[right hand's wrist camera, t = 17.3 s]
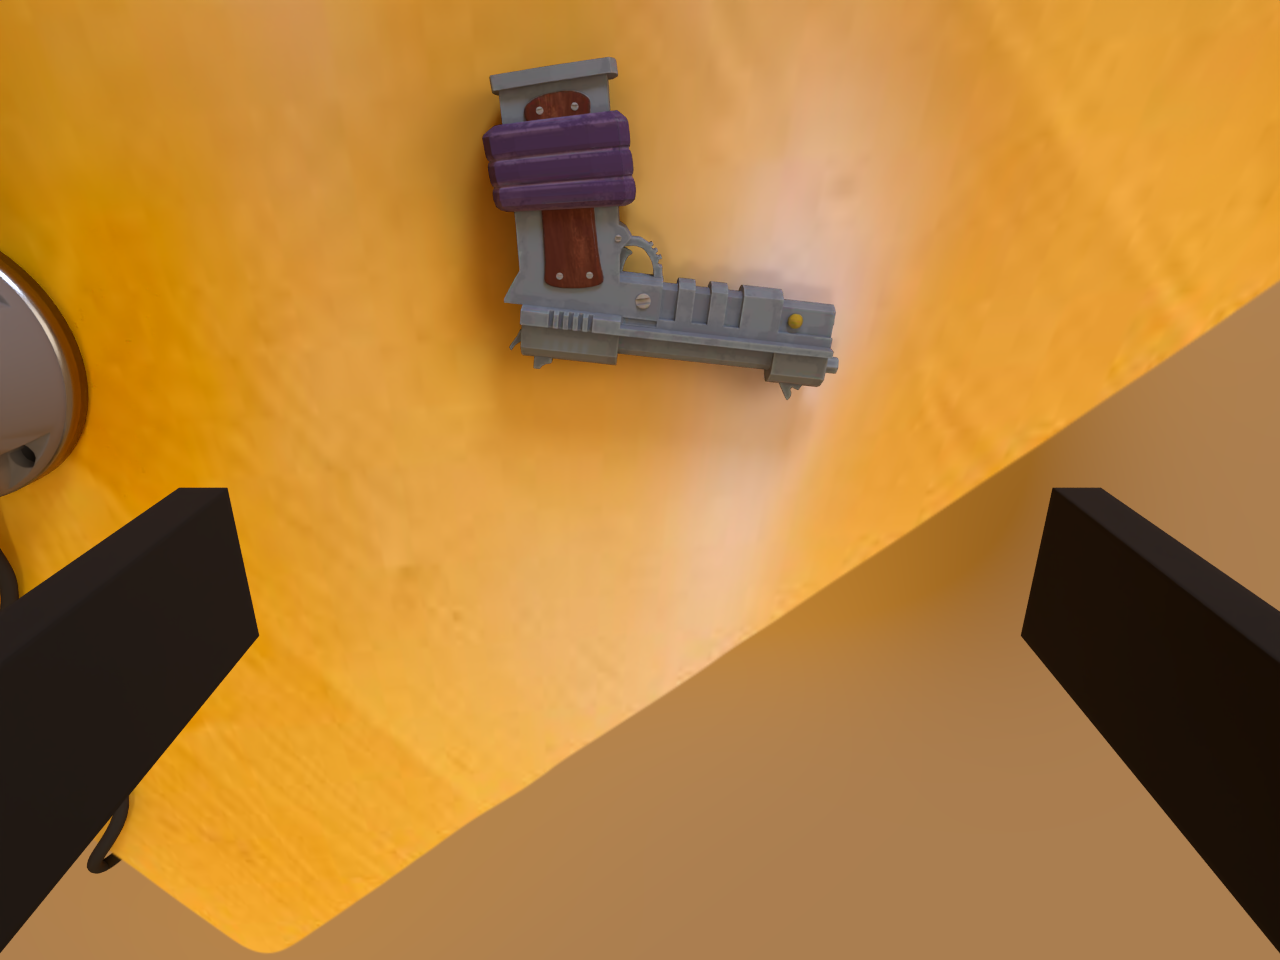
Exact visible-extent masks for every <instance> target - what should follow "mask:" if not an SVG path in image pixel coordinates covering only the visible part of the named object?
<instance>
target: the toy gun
mask: <svg viewBox="0 0 1280 960" xmlns="http://www.w3.org/2000/svg"><path fill="white" fill-rule="evenodd" d="M617 76H618V71H617V64H616V59H615V58H611V57H605V58H598V59H592V60H585V61H578V62H572V63H565V64H558V65H552V66H545V67H539V68H533V69H527V70H521V71H515V72H509V73H503V74H497V75H491V76H490V84H491V89H492V93H493V94H495V95H499V99H500V108H501V117H502V125H496V126H493V127H492V128H491V129H490V130H488V131H487V132H486V133H485V134H484V135H483V138H482V139H483V144H484V150H485V154H486V158H487V160H488V161H489V164H488V171H489V177H490V181H491V184H492V186H493V187H494V189H493V199H494V202H495V205H496V207H497V208H499V209H500V210H502V211H506V212H514V213H515V223H516V233H517V245H518V256H519V268H520V271H519V273H518V274H517V276H516V277H515V279H514V281H513V283H512V285H511V287H510V288H509V290H508V292H507V294H506V296H505V298H504V302H505V303H514V304H523V305H522V308H521V316H520V324H521V325H522V329H520V331H519V333H518V335H517V337H516V338H515V339H514V341H513V342H512V344H511V345H510V349H511V350H512V349H513V347H514V346H515V345H516V344H517V343H519V342H520V341H521V352H522V355H527V356H534V368H536V369H540V368H541V367H542V366H543V365H545V364H549V363H552V359H553V358H555V359H564V360H573V361H583V362H592V363H601V364H610V365H616V362H617V353H619V354H628V355H637V356H646V357H656V358H665V359H674V360H683V361H693V362H702V363H711V364H720V365H729V366H739V367H748V368H757V369H764V378H765V381H767V382H776V383H779V384H780V387H781V389H782V391H783V394H784V396H785V398H786V400H788V399H789V398H790V396H791V391H790V389H791V388H792V387H793V388H795V389H797V390H799V388H800V387H801V386H802V385H804V386H813V387H818V386H820V385H821V383H822V382H823V380H824V377H825V373H833V374H835V373H836V372H837V369H838V362H839V360H838V358H837V357H833V351H832V349H831V343H832V338H831V334H832V329H833V325H834V319H835V314H836V311H835V307H834V305H831V304H822V303H814V302H805V301H796V300H787V299H784V298H783V292H782V290H781V289H774V288H765V287H756V286H747V285H741V286H740V288H739V291H734V290H728V285H727V283H721V282H712V281H710V282H709V285H708V287H699V286H696V282H695V279H686V278H678V281H677V284H673V283H664V282H663V276H662V265H660V264H659V263H658V261H659V259H662V257H661V254H660V255H657V254H656V252H658V250H657V248H654V249H653V248H652V247H651V246H653V243H652V241H651V242H648V241H646V240H645V239H643V238H642V237H639V236H631V233H630V231H629V229H628V228H627V226H626V225H625V224H623V223H622V222H620V221H619V206H626V205H628V204H630V203H632V202H633V201H634V199H635V195H636V187H635V181H634V179H633V178H632V174H633V160H632V154H631V152H630V150H629V146H630V133H629V124H628V120H627V118H626V117H625V116H624V115H622V114H621V113H620V112H619V111H617V110H616V111H610V99H609V84H608V80H610V79H614V78H616V77H617ZM624 246H638V247H641V248H643V249H644V250H645V251H646V252H647V254H648V255H649V257H650V259H651V261H652V264H653V275H651V274H642V273H633V272H624V271H623V266H624V263H625V260H626V259H627V257H628V256H629V255H630V254H632V251H631V250H629V249H627V248H625V247H624Z"/></svg>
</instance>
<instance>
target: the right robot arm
mask: <svg viewBox="0 0 1280 960" xmlns="http://www.w3.org/2000/svg"><path fill="white" fill-rule="evenodd" d="M87 408H88V385H87V377H86V371H85V367H84V363H83V359H82V356H81V353H80V350H79V347H78V345H77V343H76V340H75V338H74V336H73V333H72V332H71V330H70V328H69V326H68V324H67V322H66V320H65V319H64V317H63V316H62V314H61V313H60V311H59V310H58V308H57V306H56V305H55V304H54V303H53V301H52V300H51V299H50V297H49V296H48V295H47V293H46V292H45V291H44V290H43V289H42V288H41V287H40V286H39V284H38V283H37V282H36V281H35V280H34V279H33V278H32V277H31V276H30V275H29V274H28V273H27V272H26V271H25V270H23V269H22V268H21V267H20V266H19V265H17V264H16V263H15V262H14V261H13V260H11V259H10V258H9V257H7V256H6V255H5V254H3V253H2V252H0V496H4V495H7V494H9V493H12V492H14V491H17V490H19V489H21V488H22V487H24V486H26V485H28V484H30V483H32V482H34V481H36V480H38V479H40V478H42V477H44V476H45V475H47V474H49V473H50V472H51V471H53V470H54V469H56V468H57V467H58V466H59V465H60V464H61V463H62V462H63V461H64V460H65V459H66V458H67V457H68V456H69V454H70V453H71V452H72V450H73V449H74V447H75V445H76V444H77V442H78V440H79V438H80V436H81V433H82V430H83V427H84V424H85V420H86V415H87ZM0 596H1V604H0V953H1V951H2V950H3V949H4V948H5V947H6V945H7V944H8V943H9V942H10V940H11V939H12V938H13V937H14V935H15V934H16V933H17V932H18V931H19V929H20V928H21V927H22V926H23V924H24V923H25V922H26V921H27V920H28V918H29V917H30V916H31V915H32V913H33V912H34V911H35V910H36V909H37V907H38V906H39V905H40V904H41V902H42V901H43V900H44V899H45V898H46V896H47V895H48V894H49V893H50V891H51V890H52V889H53V888H54V886H55V885H56V884H57V883H58V882H59V880H60V879H61V878H62V877H63V875H64V874H65V873H66V872H67V871H68V869H69V868H70V867H71V866H72V864H73V863H74V862H75V861H76V860H77V858H78V857H79V856H80V855H81V853H82V852H83V851H84V850H85V848H86V847H87V846H88V845H89V844H90V842H91V841H92V840H93V839H94V837H95V836H96V835H97V834H98V833H99V831H100V830H101V829H102V828H103V826H104V825H105V824H106V823H107V822H108V820H109V819H110V818H111V817H112V819H111V821H110V824H109V826H108V828H107V830H106V831H105V833H104V835H103V836H102V838H101V840H100V841H99V843H98V844H97V846H96V847H95V849H94V850H93V852H92V853H91V855H90V857H89V859H88V863H87V868H88V870H89V871H90V872H91V873H102V872H104V871H107V870H108V869H110V868H112V867H113V866H115V865H116V864H117V863H119V862H120V861H121V860H122V859H121V858H119V857H118V856H116V855H115V854H114V853H111V854H110V855H109V856H107V857H106V858H104V857H105V856H106V854H107V853H108V851H109V850H110V848H111V847H112V845H113V844H114V842H115V840H116V839H117V837H118V835H119V834H120V832H121V830H122V828H123V826H124V823H125V820H126V818H127V814H128V808H129V795H130V793H131V792H132V791H133V790H134V788H135V787H136V786H137V785H138V784H139V782H140V781H141V780H142V779H143V777H144V776H145V775H146V774H147V772H148V771H149V770H150V769H151V768H152V766H153V765H154V764H155V763H156V761H157V760H158V759H159V758H160V757H161V755H162V754H163V753H164V752H165V750H166V749H167V748H168V747H169V746H170V744H171V743H172V742H173V741H174V739H175V738H176V737H177V736H178V734H179V733H180V732H181V731H182V730H183V728H184V727H185V726H186V725H187V723H188V722H189V721H190V720H191V719H192V717H193V716H194V715H195V714H196V712H197V711H198V710H199V709H200V708H201V706H202V705H203V704H204V703H205V701H206V700H207V699H208V698H209V696H210V695H211V694H212V693H213V692H214V690H215V689H216V688H217V687H218V685H219V684H220V683H221V682H222V681H223V679H224V678H225V677H226V676H227V674H228V673H229V672H230V671H231V670H232V668H233V667H234V666H235V665H236V663H237V662H238V661H239V660H240V658H241V657H242V656H243V655H244V654H245V652H246V651H247V650H248V649H249V647H250V646H251V645H252V644H253V643H254V641H255V640H256V639H257V638H258V636H259V633H258V628H257V623H256V619H255V614H254V609H253V605H252V600H251V595H250V591H249V586H248V582H247V577H246V572H245V568H244V563H243V558H242V554H241V549H240V544H239V540H238V535H237V530H236V526H235V521H234V516H233V512H232V507H231V502H230V498H229V493H228V488H178V489H177V490H175V491H174V492H172V493H171V494H169V495H168V496H167V497H165V498H164V499H162V500H161V501H159V502H158V503H156V504H155V505H154V506H152V507H151V508H149V509H148V510H146V511H145V512H143V513H142V514H141V515H139V516H138V517H136V518H135V519H133V520H132V521H130V522H129V523H128V524H126V525H125V526H123V527H122V528H120V529H119V530H117V531H116V532H115V533H113V534H112V535H110V536H109V537H107V538H106V539H104V540H103V541H102V542H100V543H99V544H97V545H96V546H94V547H93V548H91V549H90V550H89V551H87V552H86V553H84V554H83V555H81V556H80V557H78V558H77V559H76V560H74V561H73V562H71V563H70V564H68V565H67V566H65V567H64V568H63V569H61V570H60V571H58V572H57V573H55V574H54V575H52V576H51V577H50V578H48V579H47V580H45V581H44V582H42V583H41V584H39V585H38V586H37V587H35V588H34V589H32V590H31V591H29V592H28V593H26V594H25V595H24V596H22V597H21V598H19V592H18V584H17V579H16V576H15V574H14V571H13V569H12V567H11V565H10V563H9V562H8V560H7V558H6V557H5V555H4V554H3V552H2V550H1V549H0ZM1021 636H1022V638H1023V639H1024V640H1025V641H1026V643H1027V644H1028V645H1029V646H1030V647H1031V649H1032V650H1033V651H1034V652H1035V654H1036V655H1037V656H1038V657H1039V658H1040V660H1041V661H1042V662H1043V663H1044V665H1045V666H1046V667H1047V668H1048V670H1049V671H1050V672H1051V673H1052V674H1053V676H1054V677H1055V678H1056V679H1057V681H1058V682H1059V683H1060V684H1061V685H1062V687H1063V688H1064V689H1065V690H1066V692H1067V693H1068V694H1069V695H1070V696H1071V698H1072V699H1073V700H1074V701H1075V703H1076V704H1077V705H1078V706H1079V708H1080V709H1081V710H1082V711H1083V712H1084V714H1085V715H1086V716H1087V717H1088V718H1089V720H1090V721H1091V722H1092V723H1093V725H1094V726H1095V727H1096V728H1097V730H1098V731H1099V732H1100V733H1101V734H1102V736H1103V737H1104V738H1105V739H1106V741H1107V742H1108V743H1109V744H1110V746H1111V747H1112V748H1113V749H1114V750H1115V752H1116V753H1117V754H1118V755H1119V757H1120V758H1121V759H1122V760H1123V761H1124V763H1125V764H1126V765H1127V766H1128V768H1129V769H1130V770H1131V771H1132V772H1133V774H1134V775H1135V776H1136V777H1137V779H1138V780H1139V781H1140V782H1141V784H1142V785H1143V786H1144V787H1145V788H1146V790H1147V791H1148V792H1149V793H1150V794H1151V796H1152V797H1153V798H1154V799H1155V801H1156V802H1157V803H1158V804H1159V806H1160V807H1161V808H1162V809H1163V810H1164V812H1165V813H1166V814H1167V815H1168V817H1169V818H1170V819H1171V820H1172V822H1173V823H1174V824H1175V825H1176V826H1177V828H1178V829H1179V830H1180V831H1181V833H1182V834H1183V835H1184V836H1185V837H1186V839H1187V840H1188V841H1189V842H1190V844H1191V845H1192V846H1193V847H1194V848H1195V850H1196V851H1197V852H1198V853H1199V855H1200V856H1201V857H1202V858H1203V859H1204V861H1205V862H1206V863H1207V864H1208V866H1209V867H1210V868H1211V869H1212V871H1213V872H1214V873H1215V874H1216V875H1217V877H1218V878H1219V879H1220V880H1221V882H1222V883H1223V884H1224V885H1225V886H1226V888H1227V889H1228V890H1229V891H1230V893H1231V894H1232V895H1233V896H1234V897H1235V899H1236V900H1237V901H1238V902H1239V904H1240V905H1241V906H1242V907H1243V909H1244V910H1245V911H1246V912H1247V913H1248V915H1249V916H1250V917H1251V918H1252V920H1253V921H1254V922H1255V923H1256V924H1257V926H1258V927H1259V928H1260V929H1261V931H1262V932H1263V933H1264V934H1265V936H1266V937H1267V938H1268V939H1269V940H1270V942H1271V943H1272V944H1273V945H1274V947H1275V948H1276V949H1277V950H1278V951H1279V953H1280V611H1278V610H1277V609H1275V608H1274V607H1272V606H1271V605H1269V604H1268V603H1267V602H1265V601H1264V600H1262V599H1261V598H1259V597H1258V596H1256V595H1255V594H1254V593H1252V592H1251V591H1249V590H1248V589H1246V588H1245V587H1243V586H1242V585H1241V584H1239V583H1238V582H1236V581H1235V580H1233V579H1232V578H1230V577H1229V576H1228V575H1226V574H1225V573H1223V572H1222V571H1220V570H1219V569H1217V568H1216V567H1215V566H1213V565H1212V564H1210V563H1209V562H1207V561H1206V560H1204V559H1203V558H1202V557H1200V556H1199V555H1197V554H1196V553H1194V552H1193V551H1191V550H1190V549H1189V548H1187V547H1186V546H1184V545H1183V544H1181V543H1180V542H1178V541H1177V540H1176V539H1174V538H1173V537H1171V536H1170V535H1168V534H1167V533H1165V532H1164V531H1163V530H1161V529H1160V528H1158V527H1157V526H1155V525H1154V524H1152V523H1151V522H1150V521H1148V520H1147V519H1145V518H1144V517H1142V516H1141V515H1139V514H1138V513H1137V512H1135V511H1134V510H1132V509H1131V508H1129V507H1128V506H1126V505H1125V504H1124V503H1122V502H1121V501H1119V500H1118V499H1116V498H1115V497H1113V496H1112V495H1110V494H1109V493H1108V492H1106V491H1105V490H1103V489H1102V488H1053V489H1052V493H1051V498H1050V503H1049V507H1048V512H1047V516H1046V521H1045V526H1044V530H1043V535H1042V540H1041V544H1040V549H1039V554H1038V558H1037V563H1036V568H1035V572H1034V577H1033V582H1032V586H1031V591H1030V595H1029V600H1028V605H1027V609H1026V614H1025V619H1024V623H1023V628H1022V633H1021ZM112 815H113V816H112Z"/></svg>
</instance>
